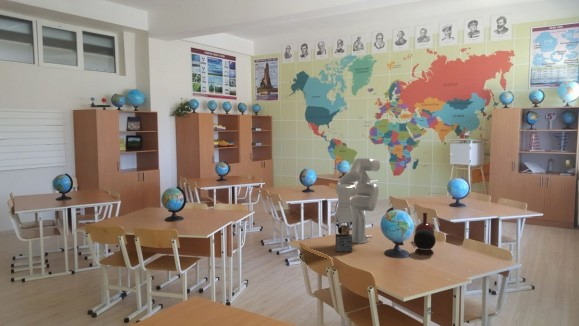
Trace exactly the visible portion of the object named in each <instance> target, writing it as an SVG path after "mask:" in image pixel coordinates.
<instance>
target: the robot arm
mask: <svg viewBox="0 0 579 326" xmlns="http://www.w3.org/2000/svg"><path fill="white" fill-rule="evenodd" d="M380 169H381V162H380V160H378V159H374V158H368V157H367V158H365V157H364V158H363V157H362V158H359V157H358V158H356V159H355V160H354V161H353V164H352V166H351V168H350V169H349V172H348V173H345V174H344V175H343V176H341V177H340V178H339V179H338V181H337V183H336V186H335V193H336V195H337V207H336V210H335V216H334V217H335V219H334V221H333V222H332V223H333V224H334V225H335V226H336V227H337V234H339V233H340V234H341V225H342V224H346V225H347V226H349V232H351V234H352V244H365V243H368V239H372V238H373V237H372V235H370V234H369V235H368V234H366V214H365V212H374V211H375V210H376V207H377V203H378V202H377V201H378V198H379V192H380V191H379V186H378V185H377V184H375V183H371V177H370V175H369V173H368V172H379V170H380ZM356 181H357V184H349V183H354V182H356ZM356 195H357V196H356ZM351 197H352V198H351Z"/></svg>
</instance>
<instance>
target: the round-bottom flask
mask: <svg viewBox="0 0 579 326" xmlns="http://www.w3.org/2000/svg"><path fill="white" fill-rule="evenodd" d="M427 221H428V212H422V222H420V223H419V224H417V225H416V226H415V229H414V235H415V234H416V232H417V231H419V230H422V229H426V230H429V231H431V232H432V233H433V234H434V235H435V234H436V233H435V229H434V227H433V225H432V224H431V223H428V222H427Z"/></svg>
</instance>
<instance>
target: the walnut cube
mask: <svg viewBox="0 0 579 326" xmlns="http://www.w3.org/2000/svg"><path fill="white" fill-rule="evenodd" d="M338 234H340V233H338ZM348 234H350V231H349V226H347V224H346V225H345V224H343V225H342V224H341V235H348Z"/></svg>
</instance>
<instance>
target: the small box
mask: <svg viewBox="0 0 579 326" xmlns="http://www.w3.org/2000/svg"><path fill="white" fill-rule="evenodd" d="M335 253H353V243H352V233H349V234H348V235H341V234H339V233H336V234H335Z"/></svg>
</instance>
